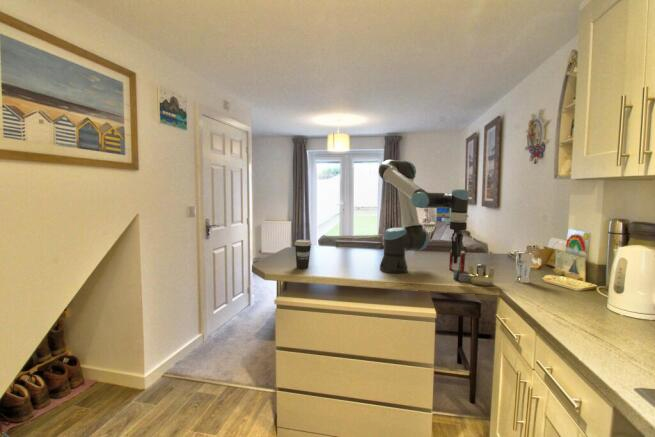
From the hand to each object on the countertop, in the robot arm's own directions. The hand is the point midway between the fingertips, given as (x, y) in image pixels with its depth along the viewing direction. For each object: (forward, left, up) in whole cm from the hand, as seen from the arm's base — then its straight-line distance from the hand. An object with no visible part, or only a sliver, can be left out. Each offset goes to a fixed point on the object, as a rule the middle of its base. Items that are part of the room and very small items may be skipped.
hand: (455, 269), depth 158 cm
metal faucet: (+8, +6, -6) cm, 11 cm away
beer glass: (+29, +23, -7) cm, 37 cm away
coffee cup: (-77, -18, -7) cm, 79 cm away
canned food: (-3, +29, -7) cm, 30 cm away
